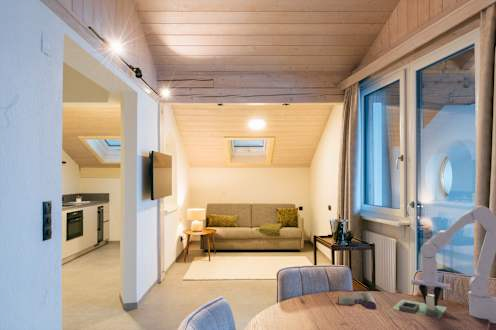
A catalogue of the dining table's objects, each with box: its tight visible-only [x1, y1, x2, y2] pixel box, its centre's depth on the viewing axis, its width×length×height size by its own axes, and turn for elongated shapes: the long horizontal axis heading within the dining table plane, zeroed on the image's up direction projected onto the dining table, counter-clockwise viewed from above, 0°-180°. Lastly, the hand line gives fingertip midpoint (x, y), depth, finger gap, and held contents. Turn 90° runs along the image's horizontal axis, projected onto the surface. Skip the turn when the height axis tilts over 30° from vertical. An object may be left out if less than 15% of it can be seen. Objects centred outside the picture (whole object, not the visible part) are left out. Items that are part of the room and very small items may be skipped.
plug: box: [426, 293, 436, 310], centre depth 144 cm, size 3×4×5 cm, turn 142°
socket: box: [398, 302, 419, 314], centre depth 143 cm, size 6×8×2 cm
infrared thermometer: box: [337, 292, 377, 309], centre depth 151 cm, size 5×12×15 cm
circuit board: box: [391, 299, 448, 319], centre depth 144 cm, size 18×16×2 cm
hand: (431, 304), depth 144 cm, fingers closed on plug, 3 cm apart
